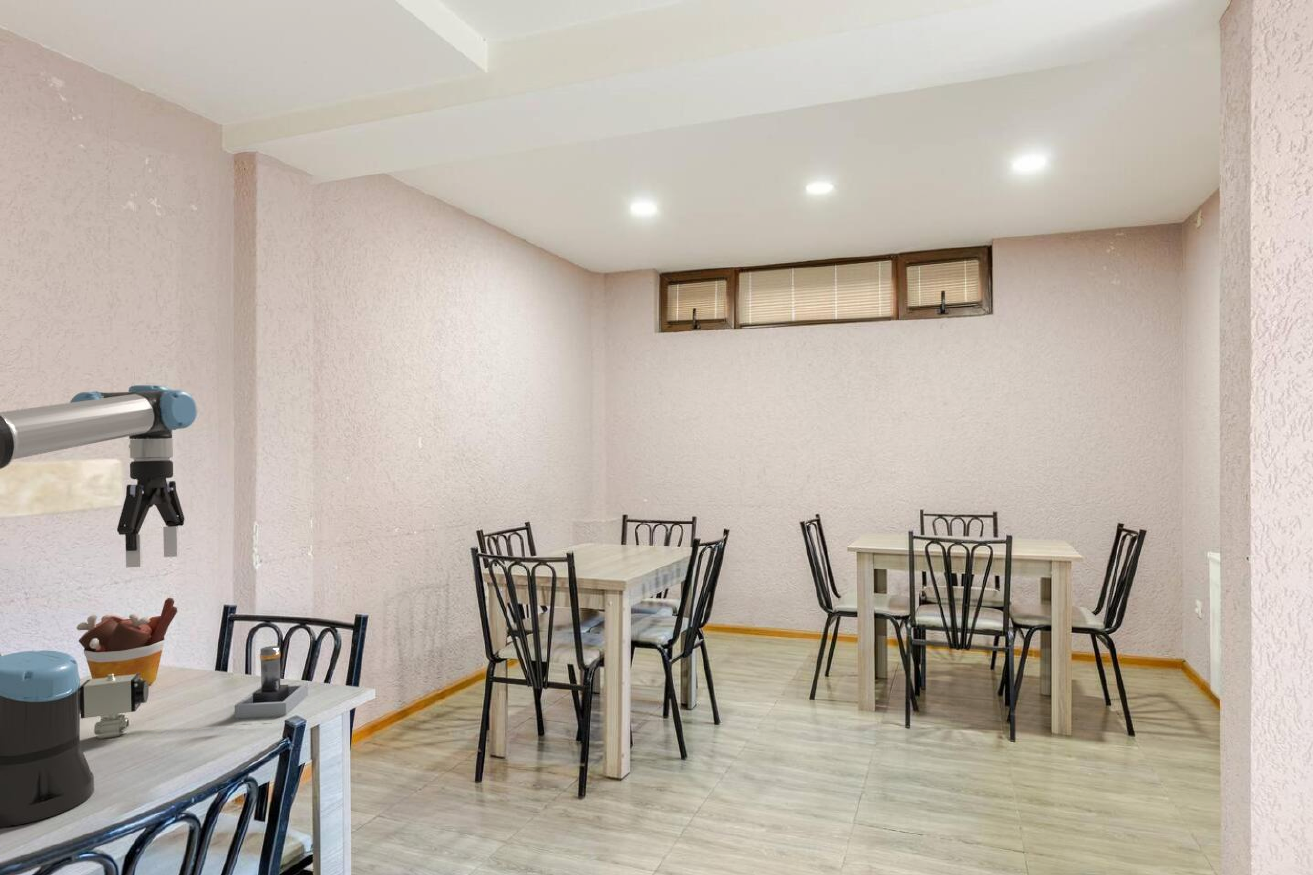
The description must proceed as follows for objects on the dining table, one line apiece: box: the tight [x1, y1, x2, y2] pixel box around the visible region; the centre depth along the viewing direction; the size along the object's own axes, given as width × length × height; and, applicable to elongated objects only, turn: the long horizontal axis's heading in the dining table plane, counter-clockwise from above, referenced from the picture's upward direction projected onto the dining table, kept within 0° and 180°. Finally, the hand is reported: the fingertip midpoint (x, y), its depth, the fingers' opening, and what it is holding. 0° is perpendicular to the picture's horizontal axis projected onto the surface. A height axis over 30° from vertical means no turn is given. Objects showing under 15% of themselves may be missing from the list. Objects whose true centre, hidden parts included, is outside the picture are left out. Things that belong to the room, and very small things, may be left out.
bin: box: [234, 683, 309, 726], centre depth 161 cm, size 12×10×4 cm
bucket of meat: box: [76, 597, 178, 686], centre depth 181 cm, size 20×16×20 cm
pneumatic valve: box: [80, 674, 150, 740], centre depth 151 cm, size 6×12×12 cm, turn 112°
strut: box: [253, 645, 290, 703], centre depth 160 cm, size 5×5×13 cm
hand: (153, 561), depth 159 cm, fingers open, 13 cm apart
